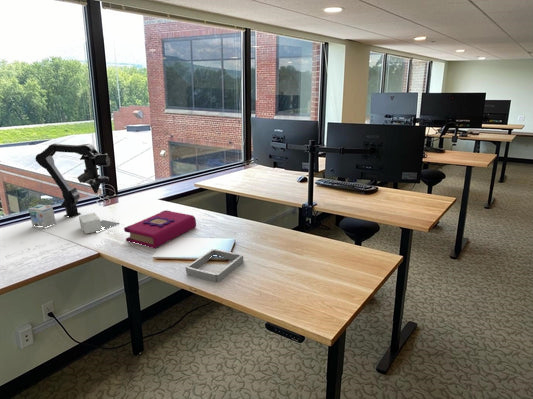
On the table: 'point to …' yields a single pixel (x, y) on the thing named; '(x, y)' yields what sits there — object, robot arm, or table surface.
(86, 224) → the small box
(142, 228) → the book
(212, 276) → the frame
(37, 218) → the light bulb box
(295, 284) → the table surface
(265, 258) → the table surface
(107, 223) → the mat
